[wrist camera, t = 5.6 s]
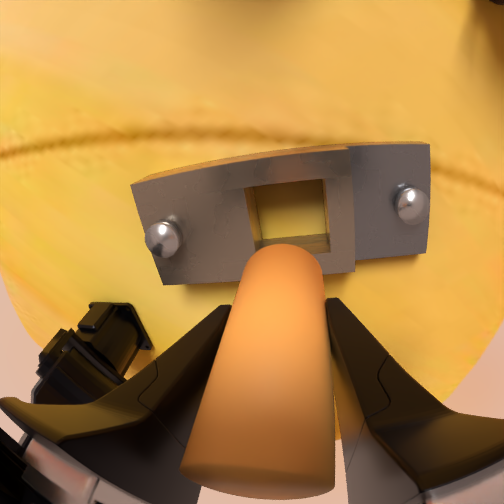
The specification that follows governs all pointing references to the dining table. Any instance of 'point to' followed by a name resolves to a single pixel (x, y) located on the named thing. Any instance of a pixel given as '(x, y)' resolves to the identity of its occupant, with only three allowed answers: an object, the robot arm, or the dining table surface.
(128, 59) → the dining table surface
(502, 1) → the coffee mug
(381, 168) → the grey peg hole base
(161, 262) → the gray switch cover plate
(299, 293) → the connecting pin
